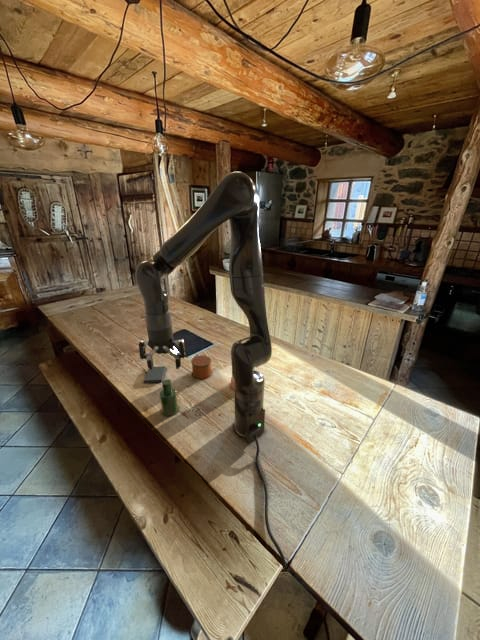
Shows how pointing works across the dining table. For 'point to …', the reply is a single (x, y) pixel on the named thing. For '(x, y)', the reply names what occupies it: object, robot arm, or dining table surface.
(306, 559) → the dining table surface
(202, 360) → the copper tin
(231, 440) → the dining table surface
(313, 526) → the dining table surface
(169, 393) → the green bottle
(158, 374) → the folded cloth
